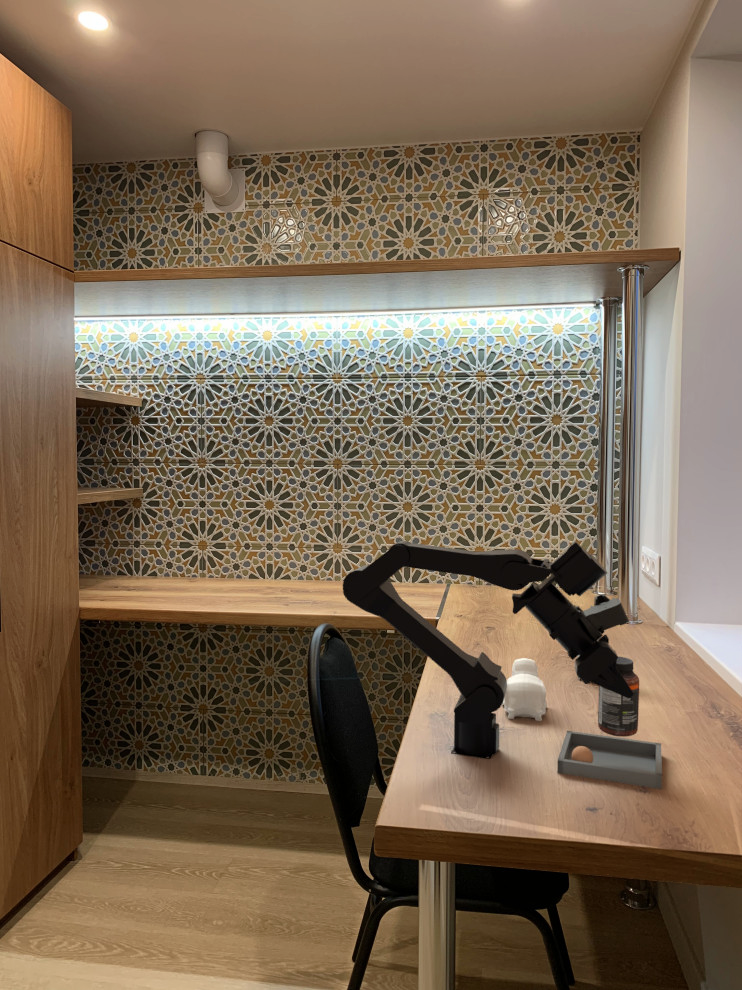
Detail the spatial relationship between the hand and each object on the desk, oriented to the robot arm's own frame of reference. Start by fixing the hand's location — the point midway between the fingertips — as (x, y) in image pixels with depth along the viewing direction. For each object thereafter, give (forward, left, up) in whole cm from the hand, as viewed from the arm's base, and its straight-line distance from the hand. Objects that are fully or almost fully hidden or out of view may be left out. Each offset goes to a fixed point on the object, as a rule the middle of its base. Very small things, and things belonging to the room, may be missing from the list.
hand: (628, 689), depth 113 cm
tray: (-2, -2, -12) cm, 12 cm away
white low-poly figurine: (-19, +19, -12) cm, 30 cm away
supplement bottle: (-1, 0, -7) cm, 7 cm away
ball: (-6, -5, -11) cm, 14 cm away
